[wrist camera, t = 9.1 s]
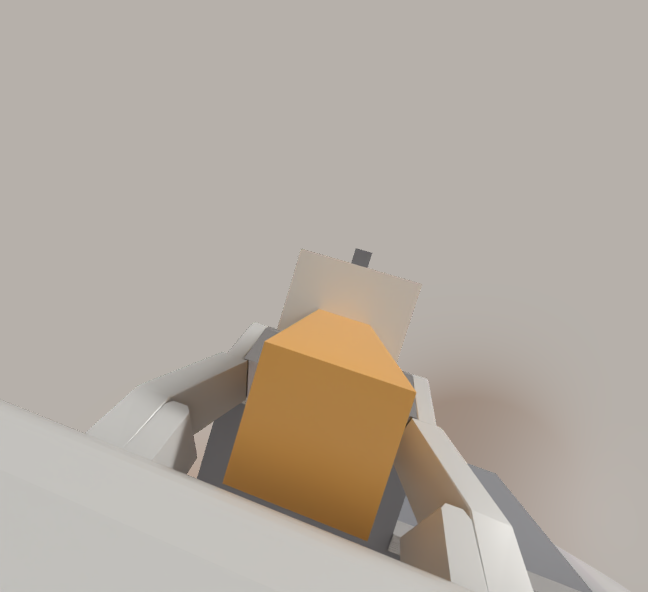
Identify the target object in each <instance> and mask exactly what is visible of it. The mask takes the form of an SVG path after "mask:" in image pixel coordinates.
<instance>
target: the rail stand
mask: <svg viewBox="0 0 648 592" xmlns="http://www.w3.org/2000/svg"><path fill="white" fill-rule="evenodd" d="M247 399H248V398H246V400H244V401H243V402H241V403H240V404H238V405H237V406H235V407H234V408H232V409H231V410H229V411H228V412H227V413H225V414H224V415H222V416H221V417H219V418H218V419H216V420H215V421H214V423H213V426H212V429H211V433H210V436H209V439H208V443H207V446H206V450H205V453H204V456H203V460H202V463H201V467H200V470H199V474H198V477H197V479H199V480H201V481H204V482H206V483H209V484H211V485H214V486H216V487H218V488H221V489H223V490H226V491H228V492H231V493H233V494H236V495H238V496H241V497H243V498H246V499H248V500H251V501H253V502H256V503H258V504H260V505H263V506H265V507H268V508H270V509H273V510H275V511H278V512H280V513H283V514H285V515H288V516H290V517H293V518H295V519H297V520H300V521H302V522H305V523H307V524H310V525H312V526H315V527H317V528H320V529H322V530H325V531H327V532H330V533H332V534H334V535H337V536H339V537H342V538H344V539H347V540H349V541H352V542H354V543H357V544H359V545H362V546H364V547H367V548H369V549H371V550H374V551H376V552H379V553H381V554H384V555H386V556H389V557H391V558H394V559H396V560H399V561H400V538H401V537H402V536H403V535H404V534H405V533H407V532H408V531H409V530H411V529H412V528H413V527H415V526H416V525H417V524H418V523H417V521H416V518H415V516H414V513H413V511H412V508H411V506H410V503H409V501H408V499H407V496H406V494H405V491H404V489H403V486H402V484H401V481H400V479H399V477H398V474H397V472H396V469H395V467H394V464H393V466H392V469H391V472H390V475H389V478H388V481H387V484H386V487H385V490H384V493H383V496H382V499H381V502H380V505H379V508H378V511H377V514H376V517H375V520H374V523H373V526H372V529H371V532H370V535H369V538H368V541H365V540H363V539H360V538H358V537H355V536H353V535H350V534H348V533H345V532H343V531H340V530H338V529H335V528H333V527H330V526H328V525H325V524H323V523H320V522H318V521H315V520H313V519H310V518H308V517H305V516H303V515H300V514H298V513H295V512H293V511H290V510H288V509H285V508H283V507H280V506H278V505H275V504H273V503H270V502H268V501H265V500H263V499H260V498H258V497H255V496H253V495H250V494H248V493H245V492H243V491H240V490H238V489H235V488H233V487H230V486H228V485H225V484H223V479H224V476H225V473H226V469H227V466H228V463H229V459H230V456H231V452H232V449H233V446H234V442H235V439H236V436H237V432H238V429H239V426H240V422H241V419H242V416H243V412H244V409H245V405H246V402H247ZM467 464H468V463H467ZM468 466H469V467H470V469H471V470H472V471H473V473H474V474H475V475H476V477H477V478H478V480H479V481H480V482H481V484H482V485H483V487H484V488H485V489H486V491H487V492H488V494H489V495H490V496H491V498H492V499H493V501H494V502H495V503H496V505H497V506H498V508H499V509H500V510H501V512H502V513H503V515H504V516H505V517H506V519H507V520H508V522H509V523H510V524H511V526H512V528H513V531H514V534H515V537H516V540H517V543H518V546H519V549H520V552H521V555H522V558H523V561H524V564H525V567H526V570H527V573H528V576H529V579H530V583H531V586H532V589H533V592H592V591H591V589H590V588H589V587H588V586H587V585H586V583H585V582H584V581H583V580H582V578H581V577H580V576H579V575H578V574H577V572H576V571H575V570H574V569H573V567H572V566H571V565H570V564H569V563H568V561H567V560H566V559H565V558H564V556H563V555H562V554H561V553H560V552H559V550H558V549H557V548H556V547H555V545H554V544H553V543H552V542H551V541H550V539H549V538H548V537H547V536H546V534H545V533H544V532H543V531H542V530H541V528H540V527H539V526H538V525H537V523H536V522H535V521H534V520H533V519H532V517H531V516H530V515H529V514H528V512H527V511H526V510H525V509H524V508H523V506H522V505H521V504H520V503H519V501H518V500H517V499H516V498H515V497H514V495H513V494H512V493H511V492H510V490H509V489H508V488H507V487H506V486H505V484H504V483H503V482H502V481H501V479H500V478H499V477H498V476H497V475H496V474H495V473H492V472H490V471H487V470H484V469H482V468H478V467H476V466H473V465H470V464H468Z"/></svg>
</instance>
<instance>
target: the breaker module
mask: <svg viewBox="0 0 648 592" xmlns="http://www.w3.org/2000/svg"><path fill="white" fill-rule="evenodd" d="M371 254H372V253H370V252H367V251H363V250H360V249H356V250H355V253H354V256H353V260H352V263H349V262H345V261H342V260H339V259H335V258H332V257H328V256H325V255H321V254H318V253H315V252H311V251H308V250H305V249H301V251H300V254H299V258H298V261H297V264H296V268H295V271H294V274H293V278H292V281H291V285H290V288H289V291H288V294H287V298H286V301H285V304H284V308H283V311H282V314H281V318H280V321H279V325H278V328H277V330H280V331H281V332H279V333H278V334H276V335H274V336H273V337H271V338H269V339H268V340H266V341H265V342H264V345H263V348H262V352H261V355H260V358H259V362H258V365H257V369H256V372H255V375H254V379H253V382H252V385H251V389H250V392H249V395H248V399H247V402H246V405H245V409H244V412H243V416H242V419H241V422H240V426H239V429H238V432H237V436H236V439H235V442H234V446H233V449H232V452H231V456H230V459H229V463H228V466H227V469H226V473H225V476H224V479H223V484H225V485H228V486H230V487H233V488H235V489H238V490H240V491H243V492H245V493H248V494H250V495H253V496H255V497H258V498H260V499H263V500H265V501H268V502H270V503H273V504H275V505H278V506H280V507H283V508H285V509H288V510H290V511H293V512H295V513H298V514H300V515H303V516H305V517H308V518H310V519H313V520H315V521H318V522H320V523H323V524H325V525H328V526H330V527H333V528H335V529H338V530H340V531H343V532H345V533H348V534H350V535H353V536H355V537H358V538H360V539H363V540H365V541H368V538H369V535H370V532H371V529H372V526H373V523H374V520H375V517H376V514H377V511H378V508H379V505H380V502H381V499H382V496H383V493H384V490H385V487H386V484H387V481H388V478H389V475H390V472H391V469H392V466H393V463H394V460H395V457H396V454H397V450H398V447H399V444H400V441H401V438H402V435H403V432H404V429H405V426H406V423H407V420H408V417H409V414H410V411H411V408H412V405H413V402H414V399H415V396H416V393H417V392H416V391H415V389H414V388H413V386H412V385H411V383H410V382H409V381H408V379H407V378H406V376H405V375H404V373H403V372H402V370H401V369H400V368H399V366H398V365H397V360H398V357H399V354H400V351H401V348H402V345H403V342H404V339H405V336H406V333H407V329H408V326H409V323H410V320H411V317H412V314H413V311H414V308H415V305H416V302H417V299H418V295H419V292H420V289H421V286H422V284H420V283H417V282H413V281H410V280H406V279H403V278H400V277H396V276H392V275H389V274H386V273H383V272H379V271H376V270H373V269H369V268H367V267H368V264H369V261H370V258H371Z"/></svg>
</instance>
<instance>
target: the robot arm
mask: <svg viewBox="0 0 648 592" xmlns="http://www.w3.org/2000/svg"><path fill="white" fill-rule="evenodd" d="M279 332H281V331H280V330H277V329H274V328H271V327H269V326H265V325H262V324H259V323H257V322H254V323H252V324H251V325H250V326H249V328H248V329H247V330H246V331H245V332H244V333H243V335H242V336H241V337H240V338H239V339H238V341H237V342H236V343H235V344H234V345H233V347H232V348H231V349H230V350H229V351H228V353H224V352H221V353H219V354H216V355H214V356H211V357H208V358H206V359H203V360H201V361H198V362H196V363H193V364H191V365H188V366H186V367H183V368H181V369H178V370H176V371H173V372H170V373H168V374H165V375H163V376H160V377H158V378H155V379H153V380H150V381H148V382H145V383H143V384H140V385H138V386H137V387H136V388H134V389H133V390H132V391H131V392H130V393H129V394H128V395H127V396H126V397H125V398H123V399H122V400H121V401H120V402H119V403H118V404H117V405H116V406H115V407H114V408H112V409H111V410H110V411H109V412H108V413H107V414H106V415H104V416H103V417H102V418H101V419H100V420H99V421H98V422H97V423H96V424H94V425H93V426H92V427H91V428H90V429H89V430H88V431H87V432H86V433H83V432H80V431H78V430H75V429H73V428H70V427H68V426H65V425H63V424H61V423H58V422H55V421H53V420H51V419H48V418H46V417H43V416H41V415H38V414H36V413H33V412H31V411H28V410H26V409H23V408H21V407H18V406H16V405H13V404H11V403H9V402H6V401H4V400H1V399H0V592H533V589H532V586H531V583H530V579H529V576H528V573H527V570H526V567H525V564H524V561H523V558H522V555H521V552H520V549H519V546H518V543H517V540H516V537H515V534H514V531H513V528H512V526H511V524H510V523H509V522H508V520H507V519H506V517H505V516H504V515H503V513H502V512H501V510H500V509H499V508H498V506H497V505H496V503H495V502H494V501H493V499H492V498H491V496H490V495H489V494H488V492H487V491H486V489H485V488H484V487H483V485H482V484H481V482H480V481H479V480H478V478H477V477H476V475H475V474H474V473H473V471H472V470H471V469H470V467H469V466H468V464H467V463H466V462H465V460H464V459H463V457H462V456H461V455H460V453H459V452H458V451H457V449H456V448H455V446H454V445H453V444H452V442H451V441H450V439H449V438H448V437H447V435H446V434H445V432H444V431H443V429H442V428H440V427H438V426H436V421H435V416H434V410H433V404H432V399H431V393H430V388H429V382H428V380H427V379H426V378H423V377H420V376H416V375H413V374H410V373H407V372H403V371H402V372H403V373H404V375H405V376H406V378H407V379H408V381H409V382H410V383H411V385H412V386H413V388H414V389H415V391H416V392H417V393H416V396H415V399H414V402H413V405H412V408H411V411H410V414H409V417H408V420H407V423H406V426H405V429H404V432H403V435H402V438H401V441H400V444H399V447H398V450H397V454H396V457H395V460H394V463H393V464H394V467H395V469H396V472H397V474H398V477H399V479H400V481H401V484H402V486H403V489H404V491H405V494H406V496H407V499H408V501H409V503H410V506H411V508H412V511H413V513H414V516H415V518H416V521H417V523H418V524H417V525H416V526H415V527H413V528H412V529H411V530H409V531H408V532H407V533H405V534H404V535H403V536H402V537H401V538H400V561H399V560H396V559H394V558H391V557H389V556H386V555H384V554H381V553H379V552H376V551H374V550H371V549H369V548H367V547H364V546H362V545H359V544H357V543H354V542H352V541H349V540H347V539H344V538H342V537H339V536H337V535H334V534H332V533H330V532H327V531H325V530H322V529H320V528H317V527H315V526H312V525H310V524H307V523H305V522H302V521H300V520H297V519H295V518H293V517H290V516H288V515H285V514H283V513H280V512H278V511H275V510H273V509H270V508H268V507H265V506H263V505H260V504H258V503H256V502H253V501H251V500H248V499H246V498H243V497H241V496H238V495H236V494H233V493H231V492H228V491H226V490H223V489H221V488H218V487H216V486H214V485H211V484H209V483H206V482H204V481H201V480H199V479H196V478H194V477H191V476H189V475H187V473H188V471H189V470H190V468H191V467H192V465H193V463H194V462H195V460H196V459H197V454H196V448H195V442H194V436H193V435H194V434H196V433H197V432H199V431H200V430H202V429H203V428H204V427H206V426H207V425H209V424H210V423H212V422H213V421H215V420H216V419H218V418H219V417H221V416H222V415H224V414H225V413H227V412H228V411H229V410H231V409H232V408H234V407H235V406H237V405H238V404H240V403H241V402H243V401H244V400H246V398H248V395H249V392H250V389H251V385H252V382H253V379H254V375H255V372H256V369H257V365H258V362H259V358H260V355H261V352H262V348H263V345H264V342H265V341H266V340H268V339H269V338H271V337H273V336H274V335H276V334H278V333H279Z"/></svg>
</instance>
